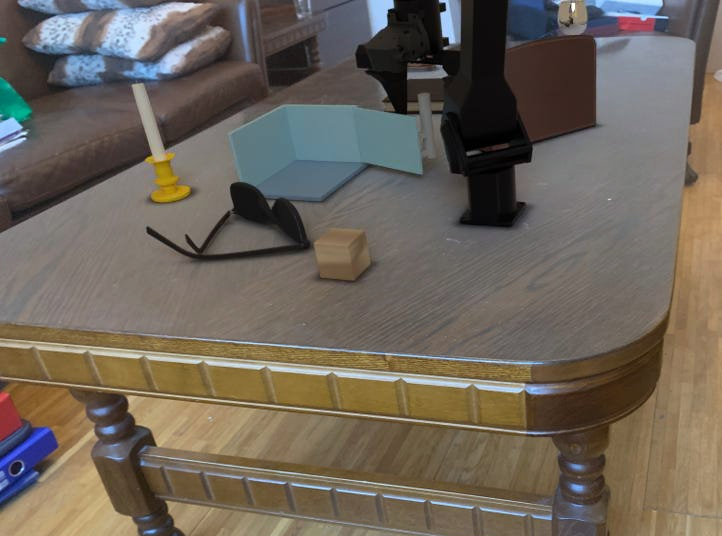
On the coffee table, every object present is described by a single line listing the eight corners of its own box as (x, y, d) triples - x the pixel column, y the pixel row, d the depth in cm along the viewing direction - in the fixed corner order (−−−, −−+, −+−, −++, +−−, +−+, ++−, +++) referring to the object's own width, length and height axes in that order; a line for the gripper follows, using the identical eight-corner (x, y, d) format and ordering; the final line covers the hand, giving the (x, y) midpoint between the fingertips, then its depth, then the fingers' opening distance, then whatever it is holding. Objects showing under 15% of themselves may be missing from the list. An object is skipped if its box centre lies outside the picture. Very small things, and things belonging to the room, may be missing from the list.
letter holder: (597, 125, 118) (598, 28, 111) (492, 156, 110) (485, 52, 102) (557, 113, 125) (555, 21, 118) (455, 141, 117) (446, 43, 109)
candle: (151, 193, 107) (114, 78, 99) (190, 186, 108) (157, 72, 100) (152, 205, 103) (113, 86, 94) (192, 197, 104) (157, 79, 96)
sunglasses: (138, 250, 90) (124, 211, 87) (246, 212, 98) (236, 174, 95) (205, 291, 79) (192, 247, 77) (320, 244, 88) (311, 203, 85)
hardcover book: (512, 112, 128) (511, 98, 127) (383, 114, 133) (381, 100, 132) (528, 88, 141) (528, 75, 140) (410, 90, 146) (409, 77, 145)
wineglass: (553, 66, 154) (551, 2, 148) (577, 62, 156) (577, -2, 150) (567, 71, 150) (566, 5, 143) (592, 66, 152) (593, 1, 145)
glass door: (443, 164, 105) (436, 93, 100) (421, 174, 102) (412, 102, 97) (384, 152, 111) (374, 85, 106) (361, 162, 109) (350, 93, 104)
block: (354, 281, 79) (347, 245, 77) (320, 278, 80) (313, 243, 78) (371, 264, 82) (365, 229, 80) (338, 261, 83) (331, 227, 81)
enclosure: (321, 201, 99) (308, 136, 95) (243, 197, 103) (226, 133, 98) (368, 165, 110) (358, 105, 106) (296, 162, 114) (283, 104, 109)
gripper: (316, 6, 94) (338, 133, 102) (437, 10, 85) (450, 149, 93) (375, -8, 101) (391, 111, 110) (492, -6, 92) (499, 123, 101)
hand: (429, 123), depth 103 cm, fingers open, 9 cm apart
